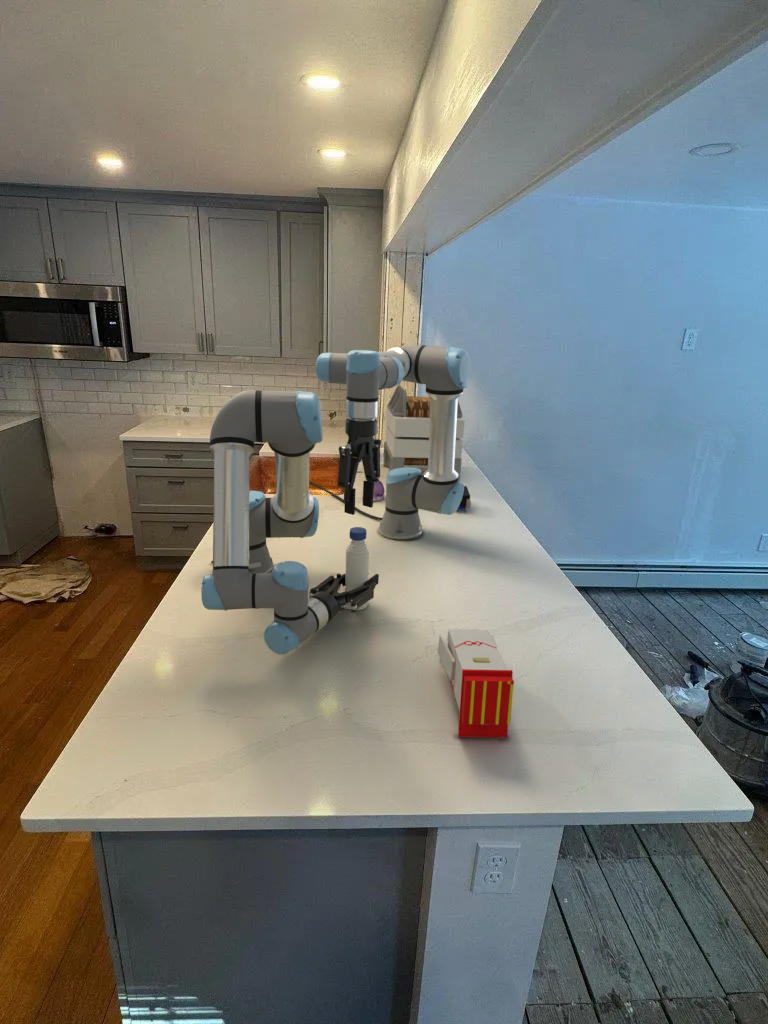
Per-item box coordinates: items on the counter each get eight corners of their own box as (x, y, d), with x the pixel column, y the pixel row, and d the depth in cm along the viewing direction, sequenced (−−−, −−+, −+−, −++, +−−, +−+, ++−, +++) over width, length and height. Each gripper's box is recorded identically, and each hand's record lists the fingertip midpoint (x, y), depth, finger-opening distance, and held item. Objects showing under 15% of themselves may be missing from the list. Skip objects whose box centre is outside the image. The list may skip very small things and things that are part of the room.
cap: (352, 541, 142) (352, 533, 141) (347, 535, 146) (347, 527, 145) (368, 540, 143) (368, 532, 143) (363, 533, 147) (363, 526, 147)
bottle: (348, 611, 148) (349, 536, 141) (342, 600, 153) (343, 528, 146) (369, 608, 150) (372, 534, 142) (363, 598, 155) (366, 526, 148)
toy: (488, 613, 130) (523, 677, 101) (484, 667, 133) (517, 744, 104) (435, 612, 130) (455, 676, 101) (432, 666, 133) (451, 743, 103)
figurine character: (470, 516, 223) (465, 500, 237) (473, 499, 220) (467, 484, 233) (453, 516, 223) (449, 500, 236) (455, 498, 220) (451, 483, 233)
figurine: (369, 503, 229) (370, 467, 224) (358, 496, 237) (359, 461, 232) (389, 500, 233) (391, 465, 228) (378, 493, 242) (380, 459, 236)
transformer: (382, 463, 289) (386, 382, 275) (445, 464, 293) (451, 384, 279) (390, 482, 257) (394, 392, 243) (460, 483, 261) (468, 394, 247)
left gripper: (285, 614, 140) (337, 579, 159) (350, 637, 131) (396, 597, 150) (284, 587, 137) (337, 554, 156) (351, 608, 129) (398, 571, 148)
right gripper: (373, 411, 144) (370, 497, 152) (321, 421, 129) (321, 516, 137) (398, 415, 140) (393, 503, 148) (347, 426, 125) (345, 523, 133)
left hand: (366, 575), depth 153 cm, fingers closed on bottle, 6 cm apart
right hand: (358, 509), depth 142 cm, fingers open, 6 cm apart
